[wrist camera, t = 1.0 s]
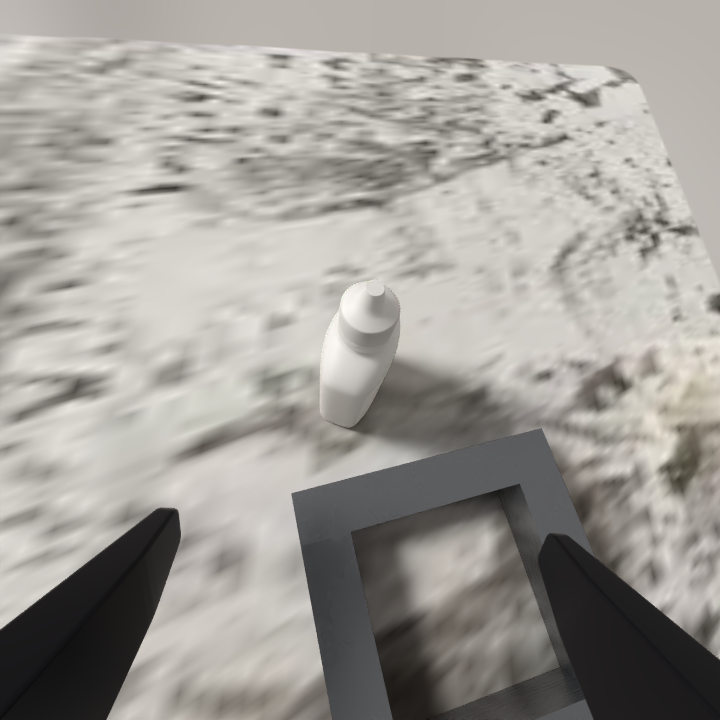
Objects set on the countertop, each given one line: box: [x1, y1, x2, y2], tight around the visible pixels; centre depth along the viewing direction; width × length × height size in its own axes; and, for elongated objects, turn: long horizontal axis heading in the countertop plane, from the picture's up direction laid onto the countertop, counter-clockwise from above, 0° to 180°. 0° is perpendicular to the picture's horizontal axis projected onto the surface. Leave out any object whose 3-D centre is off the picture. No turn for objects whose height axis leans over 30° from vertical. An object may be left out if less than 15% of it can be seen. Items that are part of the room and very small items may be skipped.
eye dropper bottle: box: [320, 279, 400, 428], centre depth 19 cm, size 4×6×12 cm
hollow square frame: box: [291, 428, 595, 720], centre depth 19 cm, size 14×14×3 cm
